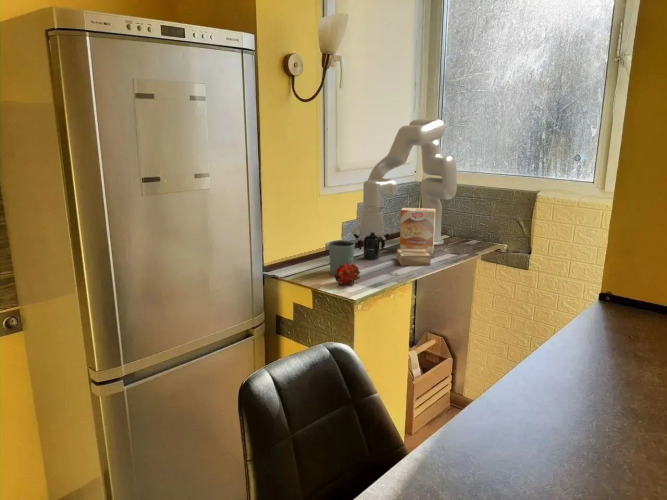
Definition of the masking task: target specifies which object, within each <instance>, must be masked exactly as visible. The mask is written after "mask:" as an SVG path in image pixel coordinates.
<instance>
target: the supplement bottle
mask: <svg viewBox="0 0 667 500" xmlns="http://www.w3.org/2000/svg"><path fill="white" fill-rule="evenodd" d="M380 242H381V240H380V237H379V236H376V235H375V234H374V232H371V234H370V235H369V236H364V239H363V258H364V260H374V261H375V260H378V259H379V258H380V245H381V243H380Z"/></svg>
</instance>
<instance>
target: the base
mask: <svg viewBox="0 0 667 500" xmlns="http://www.w3.org/2000/svg"><path fill="white" fill-rule="evenodd" d="M431 255H432V254H429V253H428V252H427V251H426V250H425V249H400V248H397V249H396V259H397V261H398V262H399V264H400V266H407V265H408V266H431V260H432V258H431Z"/></svg>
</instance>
